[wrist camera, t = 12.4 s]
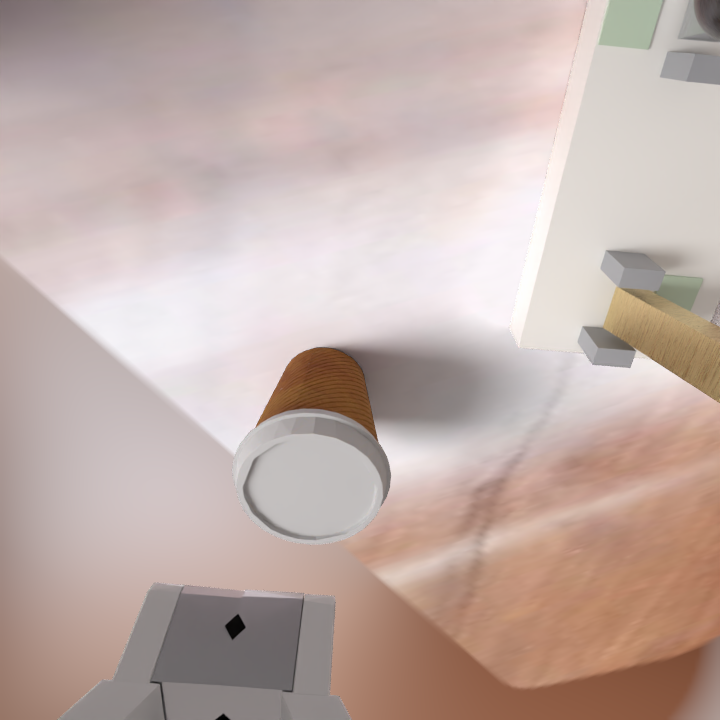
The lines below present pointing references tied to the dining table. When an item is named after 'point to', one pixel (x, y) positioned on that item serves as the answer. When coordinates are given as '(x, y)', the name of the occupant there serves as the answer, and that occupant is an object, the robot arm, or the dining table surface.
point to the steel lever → (701, 21)
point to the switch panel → (626, 183)
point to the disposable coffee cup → (314, 454)
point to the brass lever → (668, 336)
